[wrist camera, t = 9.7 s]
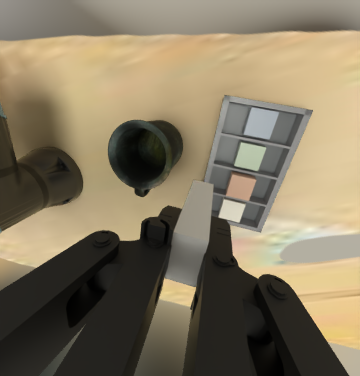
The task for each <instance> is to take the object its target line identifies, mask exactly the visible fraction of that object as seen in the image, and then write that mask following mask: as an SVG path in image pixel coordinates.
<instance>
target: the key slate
mask: <svg viewBox="0 0 360 376" xmlns="http://www.w3.org/2000/svg"><path fill="white" fill-rule="evenodd" d="M278 114H279V112H275V111H270V110H264V109H258V108H253V107H251V108H250V109H249V112H248V115H247V119H246V122H245V125H244V129H243V132H242V133H243V134H244V135H249V136H254V137H259V138H264V139H270V137H271V134H272V131H273V128H274V126H275V123H276V120H277V117H278Z"/></svg>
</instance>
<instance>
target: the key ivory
mask: <svg viewBox="0 0 360 376" xmlns="http://www.w3.org/2000/svg"><path fill="white" fill-rule="evenodd" d="M245 205H246V204H245V202H243V201H239V200H235V199H231V198H227V197H223V199H222V202H221V206H220V209H219V218H223V219H227V220H231V221H235V222H240V219H241V217H242V214H243V211H244V208H245Z"/></svg>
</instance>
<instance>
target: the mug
mask: <svg viewBox="0 0 360 376" xmlns="http://www.w3.org/2000/svg"><path fill="white" fill-rule="evenodd" d="M182 150H183V143H182V138H181V136H180V133H179V132H178V130H177V129H176V128H175V127H174V126H173V125H172V124H170V123H168V122H166V121H161V120H156V121H148V122H146V121H142V120H131V121H127V122H125V123H123V124H121V125H120V126H119V127H118V128H117V129H116V130H115V131H114V132H113V134H112V136H111V138H110V141H109V145H108V157H109V161H110V165H111V167H112V169H113V171H114V172H115V174H116V175H117V177H118V178H119V179H120V180H121V181H122V182H124V183H125V184H127V185H128V186H130V187H133V188H135V194H136V195H138V196H140V197H144V196H146V195H147V194H148V192H149V191H150V189H151V188H154V187H156V186H158V185H160V184H161V183H162V182H163V181H164V180H165V179H166V178H167V176H168V174H169V172H170V170H171V168H172V167H173V166H174V165H175V164H176V163H177V162H178V160H179V159H180V157H181V154H182Z"/></svg>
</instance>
